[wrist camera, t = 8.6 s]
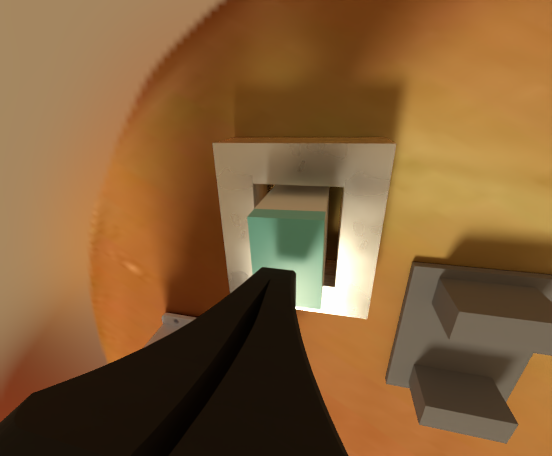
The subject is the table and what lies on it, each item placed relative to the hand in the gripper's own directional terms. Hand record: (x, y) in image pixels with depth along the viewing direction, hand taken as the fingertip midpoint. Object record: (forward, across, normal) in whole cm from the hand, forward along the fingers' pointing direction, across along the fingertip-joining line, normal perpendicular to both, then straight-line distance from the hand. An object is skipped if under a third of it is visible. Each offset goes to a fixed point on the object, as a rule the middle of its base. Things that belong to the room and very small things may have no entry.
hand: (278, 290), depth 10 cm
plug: (+8, 0, 0) cm, 8 cm away
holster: (+8, -11, +8) cm, 16 cm away
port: (+8, 0, 0) cm, 8 cm away
